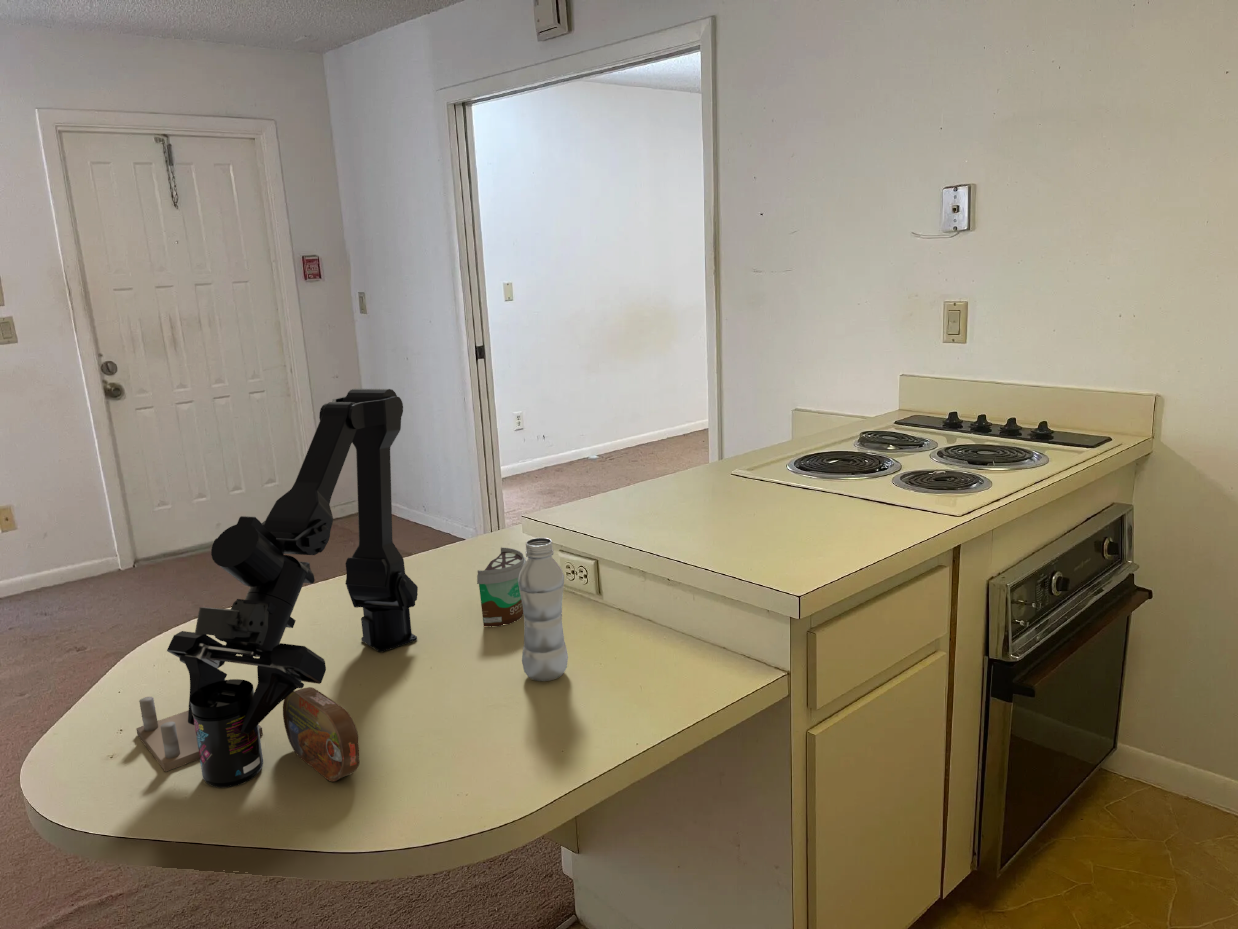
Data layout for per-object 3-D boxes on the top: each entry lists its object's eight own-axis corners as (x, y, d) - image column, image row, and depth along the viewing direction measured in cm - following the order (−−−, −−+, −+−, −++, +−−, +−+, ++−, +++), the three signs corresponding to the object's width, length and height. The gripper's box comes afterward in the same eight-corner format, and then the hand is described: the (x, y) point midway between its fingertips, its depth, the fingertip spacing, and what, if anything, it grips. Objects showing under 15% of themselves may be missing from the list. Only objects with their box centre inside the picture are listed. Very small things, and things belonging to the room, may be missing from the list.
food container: (517, 632, 141) (513, 573, 139) (480, 630, 142) (476, 571, 140) (539, 603, 153) (536, 547, 150) (505, 601, 154) (501, 546, 151)
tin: (284, 745, 111) (276, 683, 109) (308, 735, 113) (300, 674, 111) (343, 794, 100) (335, 726, 98) (368, 782, 102) (361, 716, 100)
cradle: (230, 703, 121) (225, 669, 120) (262, 734, 113) (257, 699, 112) (137, 735, 114) (131, 699, 113) (165, 772, 105) (158, 734, 104)
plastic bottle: (513, 681, 125) (505, 546, 120) (539, 661, 131) (532, 532, 126) (552, 690, 122) (545, 552, 117) (577, 670, 128) (571, 537, 123)
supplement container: (230, 754, 109) (218, 676, 106) (276, 761, 107) (266, 682, 104) (189, 785, 103) (176, 703, 100) (238, 794, 101) (225, 711, 98)
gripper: (166, 568, 106) (104, 697, 98) (299, 581, 100) (244, 719, 92) (223, 605, 115) (170, 725, 107) (347, 619, 109) (300, 747, 102)
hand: (217, 728), depth 102 cm, fingers open, 7 cm apart
